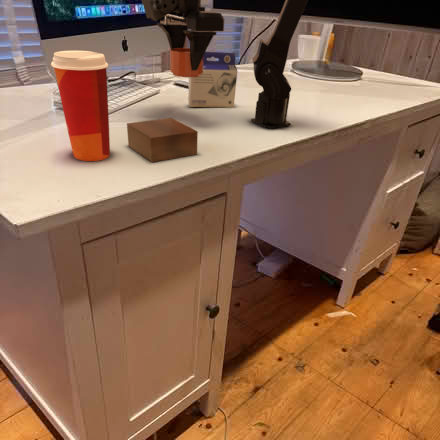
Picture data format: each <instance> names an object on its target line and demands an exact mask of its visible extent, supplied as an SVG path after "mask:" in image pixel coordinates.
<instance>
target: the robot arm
mask: <svg viewBox="0 0 440 440" xmlns="http://www.w3.org/2000/svg"><path fill="white" fill-rule="evenodd" d="M308 1H309V0H285V1H284V3H283V6H282V8H281V11H280V13H279V16H278V19H277V20H276V23H275V25H274V27H273V28H274V29H273V30H272V33H271V34H270V36H269V37H268V38H267V40H266V41H265V40H264V39H262V38H260V39H259V42H258V47H257V52H256V53H255V54H254V56H253V57H252V64H253V75H254V79H255V81H256V83H257V84H258V85H259V86H260V87H262V91H261V92H258V96H257V101H256V104H255V113H254V117H253V118H251V119H250V122H252V123H253V124H257V125H259V126H262V127H263V128H266V129H276V128H283V127H288V126H289V127H290V126H291V122H289V121H287V117H288V111H289V110H288V109H289V104H290V96H291V94H290V93H291V91H292V86H291V85H290V83H289V81H288V79H287V77H286V76H285V74H284V72H285V68H286V65H287V60H288V56H289V51H290V46H291V41H292V39H293V37H294V34H295V32H296V29H297V26H298V25H299V22H300V21H301V18H302V16H303V13H304V11H305V8H306V6H307V4H308ZM141 3H142V6H143V10H144V12H145V16H146V18H147V19H150V20H151V21H153V22H159V23H156V25H157V26H158V27H159V28H160V29H161V31H163V32H164V33H165V35H166V38H167V41H168V45H169V50H170V49H172V48H185V43H186V39H188V44H189V45H188V46H189V48H190V61H191V69H192V70H193V71H196V70H197V69H198V67H199V64H200V62H201V60H202V58H203V56H204V53H205V52H207V50H208V47H209V46H210V44H211V42H212V39H213V38H214V36H217V32H224V31H225V18H224V16H223V14H222V12H217V11H210V10H208V11H207V10H206V6H202V0H141Z"/></svg>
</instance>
